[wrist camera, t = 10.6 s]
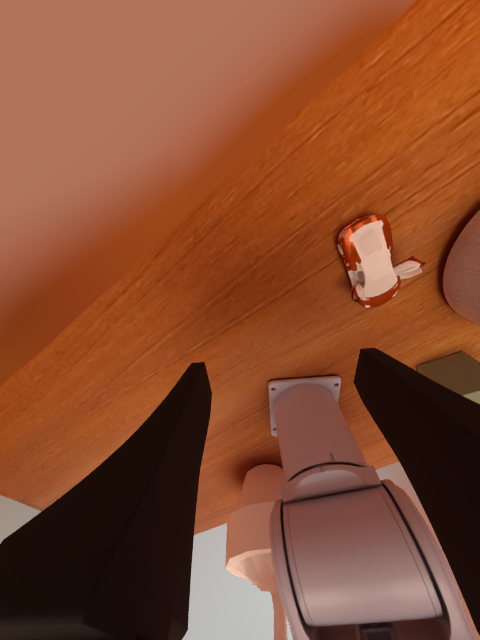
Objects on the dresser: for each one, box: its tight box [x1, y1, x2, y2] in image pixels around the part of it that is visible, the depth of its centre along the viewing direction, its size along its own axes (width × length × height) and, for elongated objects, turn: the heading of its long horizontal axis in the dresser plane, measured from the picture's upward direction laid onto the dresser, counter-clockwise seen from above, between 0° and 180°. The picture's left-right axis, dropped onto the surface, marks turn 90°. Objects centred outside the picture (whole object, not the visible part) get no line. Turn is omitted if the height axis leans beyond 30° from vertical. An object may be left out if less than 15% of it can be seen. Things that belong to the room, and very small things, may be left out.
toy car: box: [337, 213, 426, 308], centre depth 17 cm, size 5×8×3 cm, turn 28°
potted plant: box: [225, 464, 287, 640], centre depth 22 cm, size 13×12×25 cm
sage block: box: [417, 351, 480, 404], centre depth 22 cm, size 4×4×4 cm
